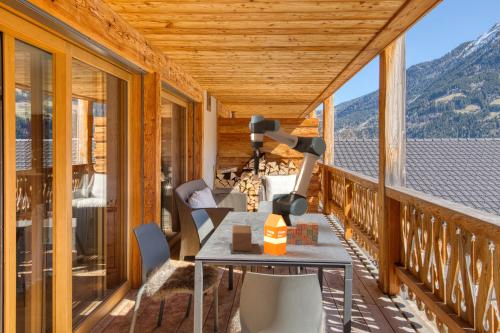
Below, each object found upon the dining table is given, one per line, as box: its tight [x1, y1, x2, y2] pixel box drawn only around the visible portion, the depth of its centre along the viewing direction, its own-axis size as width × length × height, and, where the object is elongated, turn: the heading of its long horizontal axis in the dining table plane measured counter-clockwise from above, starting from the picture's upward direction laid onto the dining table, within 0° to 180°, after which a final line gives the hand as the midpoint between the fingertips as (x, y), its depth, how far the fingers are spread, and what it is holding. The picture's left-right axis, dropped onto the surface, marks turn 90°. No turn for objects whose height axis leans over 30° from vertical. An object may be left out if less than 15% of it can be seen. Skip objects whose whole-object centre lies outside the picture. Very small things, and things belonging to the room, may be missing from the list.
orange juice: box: [263, 213, 287, 256], centre depth 227 cm, size 8×9×20 cm
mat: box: [229, 242, 263, 255], centre depth 234 cm, size 16×20×1 cm
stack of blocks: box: [286, 221, 319, 246], centre depth 249 cm, size 21×6×12 cm, turn 81°
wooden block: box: [231, 225, 253, 251], centre depth 235 cm, size 10×10×20 cm
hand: (256, 180), depth 264 cm, fingers closed
